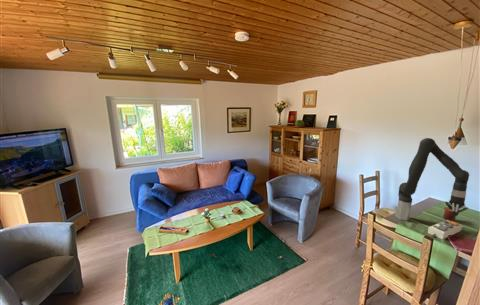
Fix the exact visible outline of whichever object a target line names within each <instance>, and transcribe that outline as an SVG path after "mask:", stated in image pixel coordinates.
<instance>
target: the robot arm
mask: <svg viewBox="0 0 480 305" xmlns="http://www.w3.org/2000/svg"><path fill="white" fill-rule="evenodd" d="M430 153H431V154H432V155H433V156H434V157H435V158H436V159H437V161H438V162H440V164H441V165H442V166H444V168H446V169H447V170H448V172H450V174H451V175H452V176H453V177H454V179H455V180H454V183H453V185H452V190H451V192H450V194H451V195H450V200H449V201H446V202H444V204H445V205H446V207H448V208H449V209H450V210H452V215H453V216H456V217H457V216H458V215H459V214H458V212H459V213H462V212H464V211H467V210H468V209H469V207H468V206H466V204H465V201H466V197H467V189H468V181H469V178H470V172H469V171H467V170H465V169H462V167H460V165H459V163H458V162H456V161H455V160H454V159H453V158H452V157H451V156H450V155H449V154H447V153H446V152H444V151H443V150H442V149H441V148H440V146H438V144H437V143H436V141H435V139H433V138H430V137H425V138H422V139H421V140H420V141H419V146H418V149H417V152H416V153H415V156H414V157H413V159H412V161H411V164H410V166H409V169H408V178H407V181H406V182H402V183H401V184H399V186H398V193H397V194H398V202H397V206H396V207H395V214H394V217H395V218H397V219H398V220H401V221H406V222H407V221H410V215H411V211H412V210H411V209H412V204H413V198H412V196H413V195H414V194H415V193H416V191H417V187H418V184H419V181H420V179H421V176H422V175H423V173H424V171H425V168H426V166H427V162H428V158H429V155H430ZM461 208H462V209H461Z"/></svg>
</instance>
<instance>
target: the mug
mask: <svg viewBox="0 0 480 305" xmlns="http://www.w3.org/2000/svg"><path fill="white" fill-rule="evenodd" d="M443 210H444V212H443V215H442V217H443V219H444V221H446V220H449V221H454V222H456V221H455V220H456V218H457V216H453V215H452V210H450V209H449V208H448V206H444V207H443ZM459 214H460V212H458V215H459Z"/></svg>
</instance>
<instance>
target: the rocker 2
mask: <svg viewBox="0 0 480 305" xmlns="http://www.w3.org/2000/svg"><path fill="white" fill-rule="evenodd" d="M449 223H451V224H454V225H459V224H460V223H459V222H457V221H449Z"/></svg>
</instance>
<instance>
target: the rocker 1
mask: <svg viewBox="0 0 480 305" xmlns="http://www.w3.org/2000/svg"><path fill="white" fill-rule="evenodd" d="M437 229H439V230H441V231H445V230H446V229H448V226H446V225H443V224H441V225H440V226H438V227H437Z"/></svg>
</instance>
